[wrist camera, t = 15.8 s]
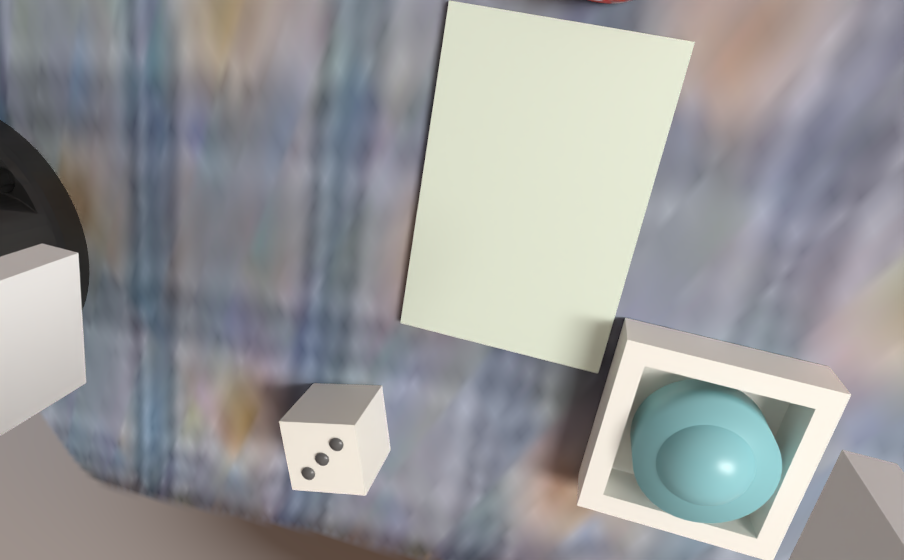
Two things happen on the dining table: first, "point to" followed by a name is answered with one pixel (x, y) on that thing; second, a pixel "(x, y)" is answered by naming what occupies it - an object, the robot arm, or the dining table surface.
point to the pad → (537, 179)
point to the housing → (749, 370)
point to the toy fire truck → (610, 1)
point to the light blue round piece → (704, 452)
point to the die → (336, 438)
